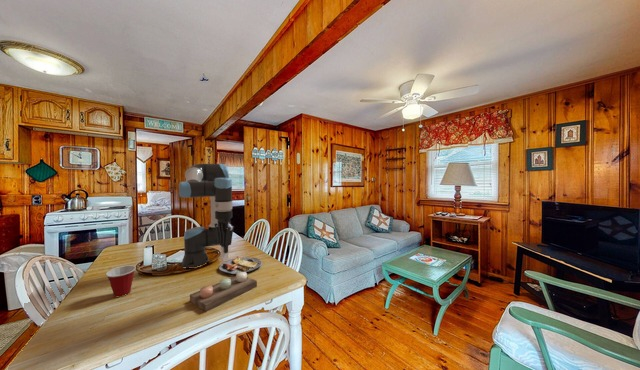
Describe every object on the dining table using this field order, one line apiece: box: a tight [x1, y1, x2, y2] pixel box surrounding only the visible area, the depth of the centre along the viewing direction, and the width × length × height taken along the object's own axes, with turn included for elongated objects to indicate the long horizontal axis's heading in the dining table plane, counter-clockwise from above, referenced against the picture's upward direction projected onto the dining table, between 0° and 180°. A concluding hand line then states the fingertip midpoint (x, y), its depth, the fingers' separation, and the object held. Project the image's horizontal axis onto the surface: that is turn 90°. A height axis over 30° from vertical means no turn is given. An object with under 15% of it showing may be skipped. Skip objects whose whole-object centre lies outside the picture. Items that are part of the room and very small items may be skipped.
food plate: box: [218, 256, 263, 275], centre depth 137 cm, size 25×23×4 cm
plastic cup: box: [105, 264, 137, 297], centre depth 106 cm, size 11×11×12 cm
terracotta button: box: [199, 285, 213, 298], centre depth 99 cm, size 5×5×3 cm
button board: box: [189, 275, 258, 313], centre depth 106 cm, size 14×26×3 cm, turn 144°
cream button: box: [235, 271, 248, 282], centre depth 113 cm, size 5×5×3 cm
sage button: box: [219, 277, 231, 290], centre depth 106 cm, size 5×5×3 cm
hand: (224, 259), depth 106 cm, fingers closed
